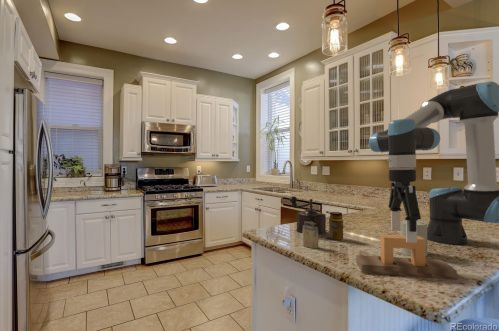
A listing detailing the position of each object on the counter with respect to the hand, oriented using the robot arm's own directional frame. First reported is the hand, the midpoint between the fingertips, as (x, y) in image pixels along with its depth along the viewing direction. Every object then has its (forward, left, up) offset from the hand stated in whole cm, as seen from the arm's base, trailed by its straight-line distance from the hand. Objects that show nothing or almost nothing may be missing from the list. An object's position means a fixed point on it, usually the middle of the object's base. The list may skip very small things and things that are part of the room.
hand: (403, 235), depth 86 cm
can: (-10, -19, -11) cm, 24 cm away
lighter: (+28, -20, -11) cm, 36 cm away
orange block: (0, 0, -11) cm, 11 cm away
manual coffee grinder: (+29, -43, -11) cm, 53 cm away
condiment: (+17, -33, -11) cm, 39 cm away
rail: (0, 0, -11) cm, 11 cm away
